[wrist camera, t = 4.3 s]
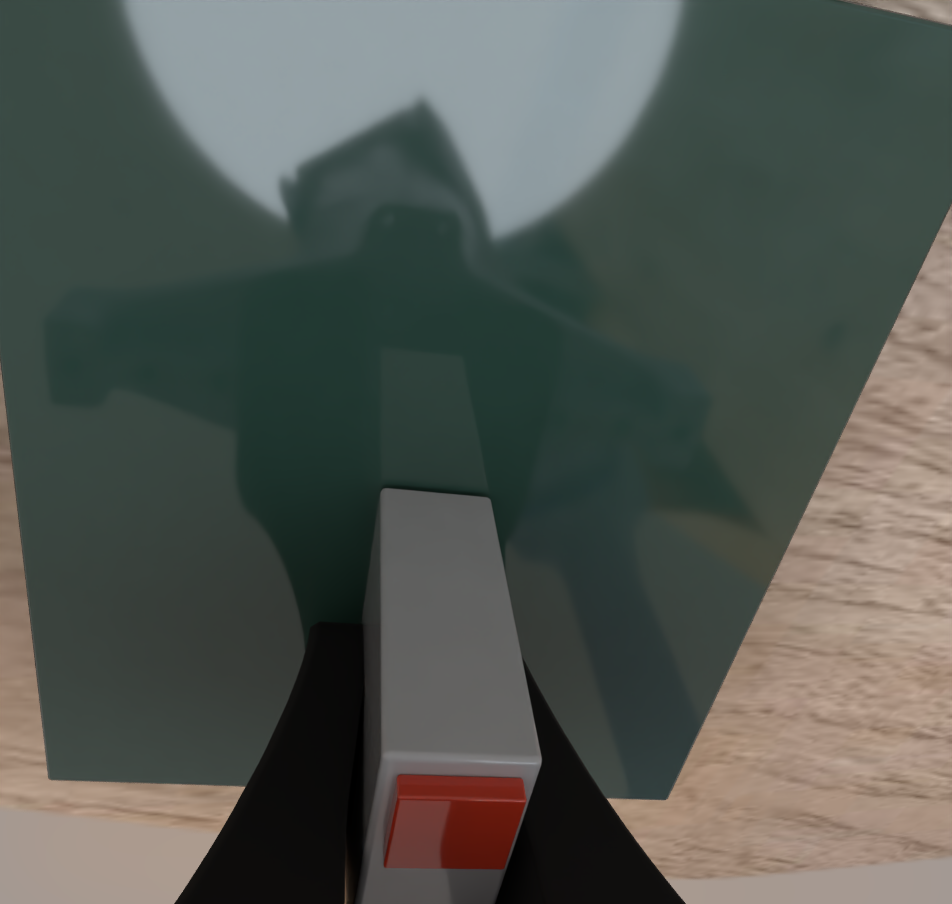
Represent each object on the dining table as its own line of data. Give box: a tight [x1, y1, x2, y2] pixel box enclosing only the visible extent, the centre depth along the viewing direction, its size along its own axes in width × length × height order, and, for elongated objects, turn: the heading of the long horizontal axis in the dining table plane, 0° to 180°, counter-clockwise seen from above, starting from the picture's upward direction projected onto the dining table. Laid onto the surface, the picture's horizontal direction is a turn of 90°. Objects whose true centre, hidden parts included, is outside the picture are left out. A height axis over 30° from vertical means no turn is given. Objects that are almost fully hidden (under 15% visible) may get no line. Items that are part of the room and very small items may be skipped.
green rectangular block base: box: [0, 0, 952, 800], centre depth 12 cm, size 12×10×3 cm
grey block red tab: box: [345, 488, 542, 904], centre depth 10 cm, size 6×1×4 cm, turn 170°
